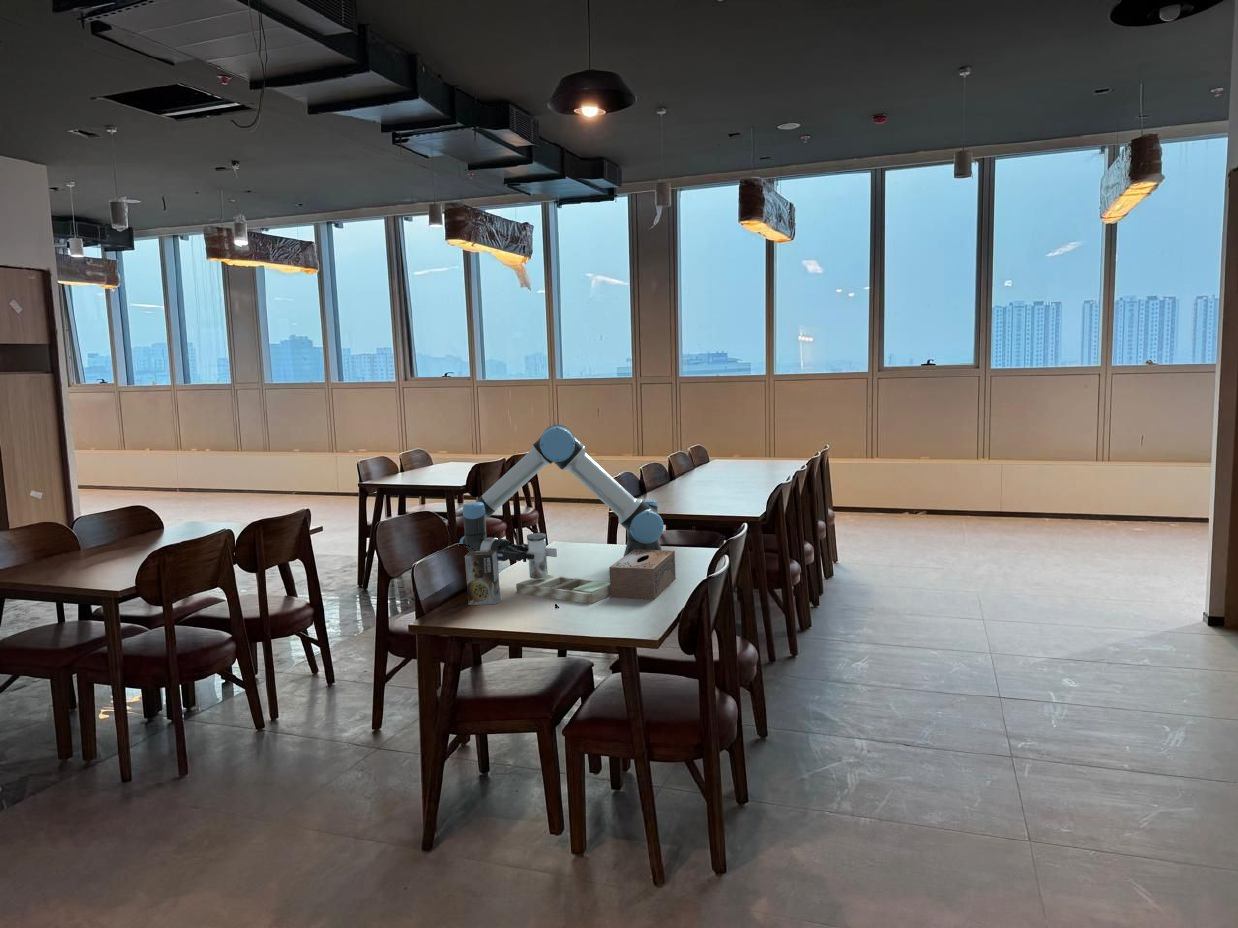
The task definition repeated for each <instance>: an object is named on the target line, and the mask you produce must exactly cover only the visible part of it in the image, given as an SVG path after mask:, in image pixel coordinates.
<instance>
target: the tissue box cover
mask: <svg viewBox="0 0 1238 928" xmlns="http://www.w3.org/2000/svg"><path fill="white" fill-rule="evenodd" d="M623 556H624V555H623ZM608 569H609V570H608V571H609V583H610V596H609V597H610V598H611V599H612V598H614V599H633V600H634V599H636V600H652V601H653V600H654V601H655V600H657V598H658V597H659V596H660V595H661V594H662V593H663V592H664V591H665V590H666V589H668V587H669V586H671V584H672V583H673V582H674V581H675V580H676V579H677V577H676V575H677V573H676V551H675V550H667V549H666V550H663V549H662V550H633V551H631V552H630V553H628V554H627V555H626V556H624V557H621V558H620V559H619V560H617V561H616V562H615V563H613V564H612V565H610V566H609V567H608Z"/></svg>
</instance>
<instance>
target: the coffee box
mask: <svg viewBox="0 0 1238 928" xmlns="http://www.w3.org/2000/svg"><path fill="white" fill-rule="evenodd" d="M464 562H465V565H464V566H465V573H466V574H465V575H466V585H467V586H466V587H467V589H466V590H467V600H468V601H467V602H468V603H467V604H468V606H475V605H476V606H478V605H479V606H481V605H482V606H483V605H484V606H485V605H486V606H487V605H497V604H498V603H499V602H500V601H501V590H500V589H501V588H500V576H499V563H498V562H499V561H498V558H497V550H483V551H469V552H468V553H467V554H466V555H465V556H464Z"/></svg>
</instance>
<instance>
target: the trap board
mask: <svg viewBox="0 0 1238 928" xmlns="http://www.w3.org/2000/svg"><path fill="white" fill-rule="evenodd" d="M515 588H516V589H515V590H516V594H522V595H527V596H536V597H542V598H548V597H549V598H548V599H554V598H555V599H557V600H561V599H562V600H561V601H569V602H574V603H575V602H576V603H583V604H590V605H591V604H594V603H597V602H598V601H600V600H603V599H605V598H607V596H608V597H611V596H610V582H606V581H605V582H604V581H597V580H590V579H583V578H576V577H575V578H574V577H568V576H558V575H552V574H551V575H550V574H548V577H546V578H541V579H532V578H529V579H526V580H523V581H521V582H518V583H515Z"/></svg>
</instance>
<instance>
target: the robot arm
mask: <svg viewBox="0 0 1238 928" xmlns="http://www.w3.org/2000/svg"><path fill="white" fill-rule="evenodd" d="M553 463H554V464H555V465H556V467H558V468H559V469H560V470H561V471H569V472H570V474H572V475H573V476H574V477H575V478H576V479H577V480H579V481H580V483H582V484H583V485H584V486H585V487H587V489H588V490H589V491H590V492H591V493H593V494H594V495H595V496H596V497H597V498H598V499H599V500H600V501H601V502H602V503H603V504H605V506H607V507H608V508H609V509H610V510H611V511H612V512H613V513H614V514H615V515H616V516H617V517H618V523H619V524H620V525H621V526H622V527H623V528H624V529H625V530H626V538H627V542H626V546H625V549H624V552H623V553H624V554H623V557H624V556H626V555H627V554H628V553H630V552H631V551H633V550H663V549H662V546H661V543H660V540H659V538H660V537H661V536H662V534H663V532H664V520H663V518H662V517H661V515H660V514H659V511H658V509H659V507H658V502H657V500H654V499H653V500H652V499H649V500H644V499H643V498H636V497H634V496H633V494H631V493H630V492H629V491H628V490H626V489H625V487H623V485H621V484H620V483H619V482H618V481H617V480H616V479H615V478H614V477H613V476H612V475H610V474H609V472H607V471H606V470H605V469H604V468H603V467H602V466H601V465H600V464H599V463H597V461H596V460H594V459H593V457H591V456H590V454H589V453H587V452H586V446H585V445H584V443H583V442H581V441H580V440H579V438H577V437H576V436H575V435H574V434H573V433H572V431H571V430H570V428H568V427H567V426H564V425H562V424H553V425H550V426H548V427H547V428H546V429H545V430H544V431H543V433H542V434H541V435H540V437H539V438H538V439H537V440H536V441H535V442H534V443H533V444H532V447H531V450H530V451H529V452H528V453H526V454H525V455H524V456H523V457H522V458H521V459H520V460H519V461H518V462H516V463H515V465H513V466H512V467H511V468H510V469H509V470H508V471H507V472H506V473H505V474H503V475H502V477H500V478H499V479H498V480H497V481H496V482H495V483H493V485H492V486H490V488H488V489H487V490H486V491H485V492H484V493H483V494H482V495H481V496H480V497H478V499H477V500H476V501H470V502H469V501H468V502H466V503H464V504H463V505H462V517H463V528H464V536H462V537H461V538H459V539H460V540H459V544H466V545H469V546H470V547H469V546H466V548H468V549H467V550H468V551H474V550H475V551H483V550H497V558H498V562H507V561H508V560H510V561H515V562H516V561H517V562H521V561H522V562H523V563H527V561H529V560H534V561H544V553H540V552H531V551H528V543H521V544H516V543H512V542H511V541H510V539H506V538H499V537H498V538H497V537H487V525H486V523H487V522H486V521H487V520H488V519H489V518H490V517H492V515H493V514H494V513H495V512H496V511H498V509H499V508H500V507H502V506H503V505H504V504H505V503H507V502H508V501H509V500H510V499H511V498H512V497H513V496H514V495H515V494H516V493H517V492H518V491H519V490H521V489H522V487H523V486H525V485H526V484H527V483H528V482H529V481H530V480H531V479H532V478H533V477H534V476H536V475H537V474H538V473H539V472H540V471H541V470H542V469H543V468H545V466H548V465H552V464H553ZM459 544H458V545H459ZM464 547H465V546H464ZM472 548H473V549H472ZM557 550H558V549H557V548H552V547H546V553H547V557H549V558H557V557H558V554H557V553H558V552H557ZM623 557H622V558H623Z"/></svg>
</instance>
